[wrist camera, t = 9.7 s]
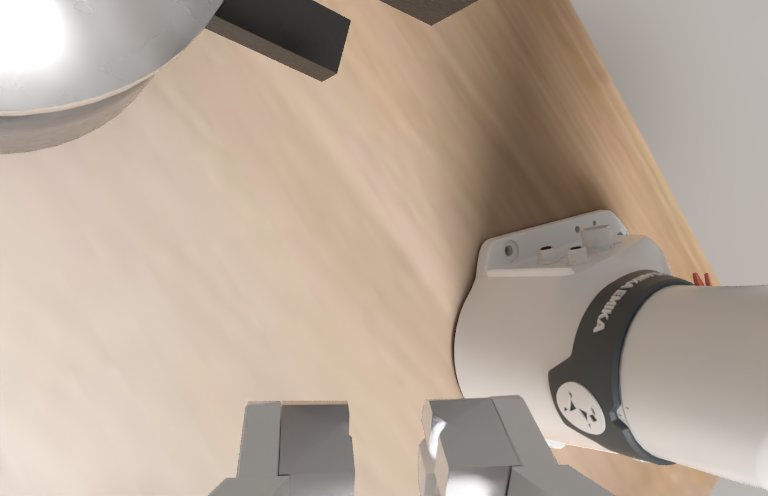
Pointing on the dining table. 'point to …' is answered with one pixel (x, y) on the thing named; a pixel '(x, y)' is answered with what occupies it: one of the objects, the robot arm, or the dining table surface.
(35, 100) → the cooker lid
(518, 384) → the robot arm
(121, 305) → the dining table surface
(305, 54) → the cooker pot
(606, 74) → the dining table surface
